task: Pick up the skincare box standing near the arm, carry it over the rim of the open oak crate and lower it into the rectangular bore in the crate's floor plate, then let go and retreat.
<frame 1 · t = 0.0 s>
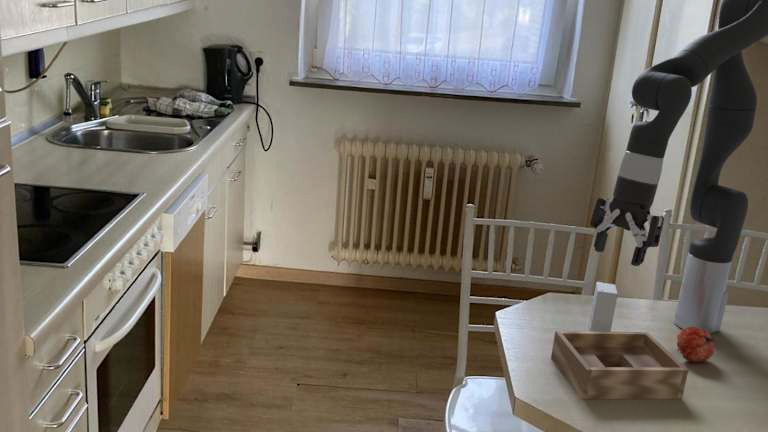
hand: (616, 258, 151), 22 cm above the table, tool pointing down, fingers open, 8 cm apart
crate: (614, 377, 152), on the table
skincare box: (597, 339, 169), on the table
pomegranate: (690, 359, 163), on the table
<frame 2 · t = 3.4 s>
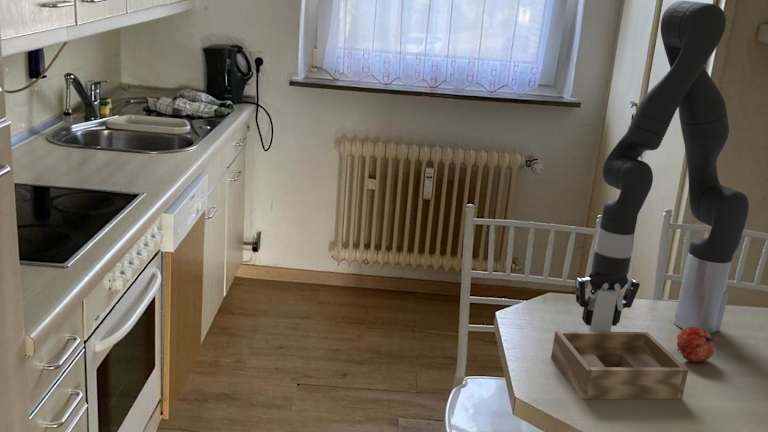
hand: (599, 323, 167), 3 cm above the table, tool pointing down, fingers closed on skincare box, 5 cm apart
skincare box: (597, 339, 169), on the table, touching gripper
everything else where it was.
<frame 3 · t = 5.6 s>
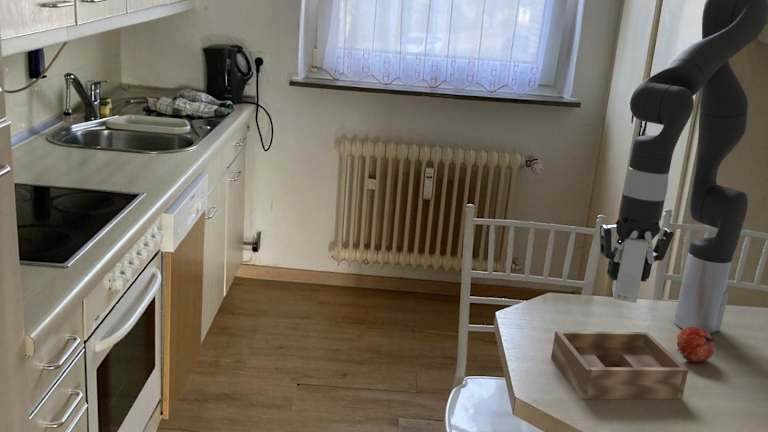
hand: (627, 279, 147), 20 cm above the table, tool pointing down, fingers closed on skincare box, 5 cm apart
skincare box: (623, 297, 149), point 16 cm above the table, touching gripper
everything else where it was.
when the fingers open (5 cm above the table, at t = 8.2 s): skincare box drops 1 cm, resting in crate.
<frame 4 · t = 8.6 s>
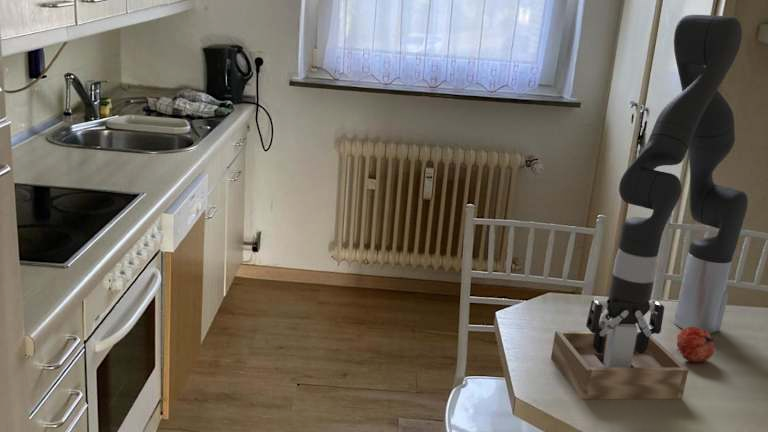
hand: (618, 351, 150), 6 cm above the table, tool pointing down, fingers open, 8 cm apart
skincare box: (614, 378, 152), resting in crate
everything else where it was.
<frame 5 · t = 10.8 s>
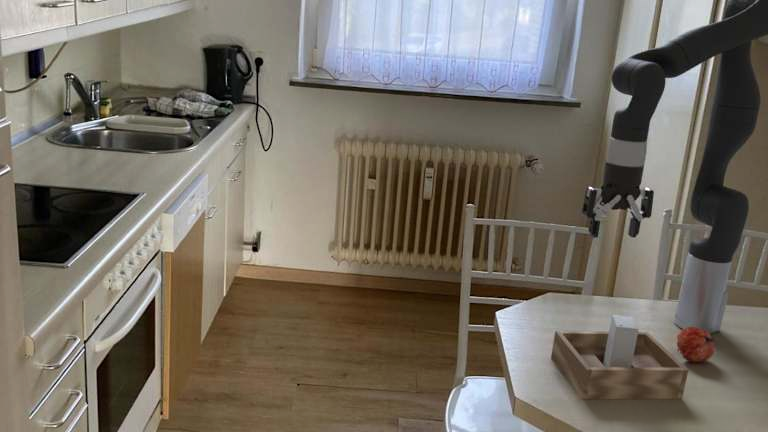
hand: (612, 236, 161), 23 cm above the table, tool pointing down, fingers open, 8 cm apart
nothing on the table moved.
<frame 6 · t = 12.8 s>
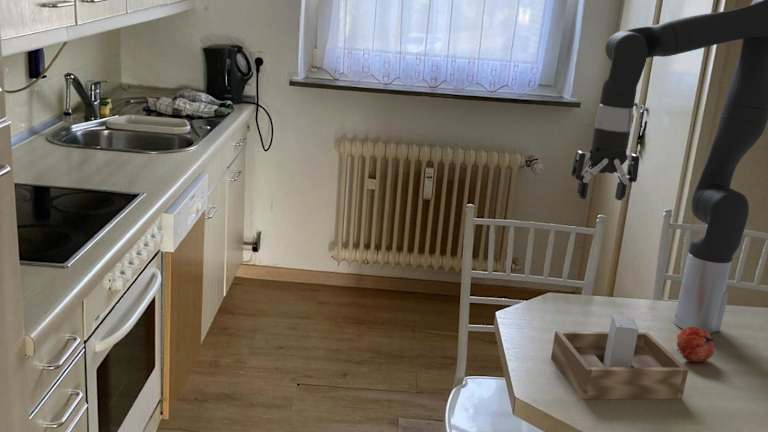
hand: (600, 198, 172), 28 cm above the table, tool pointing down, fingers open, 8 cm apart
nothing on the table moved.
at the end: skincare box 0.1 cm off-centre on the crate, point 0.0 cm above the crate's base; skincare box tilted 0°; the gripper is holding nothing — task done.
